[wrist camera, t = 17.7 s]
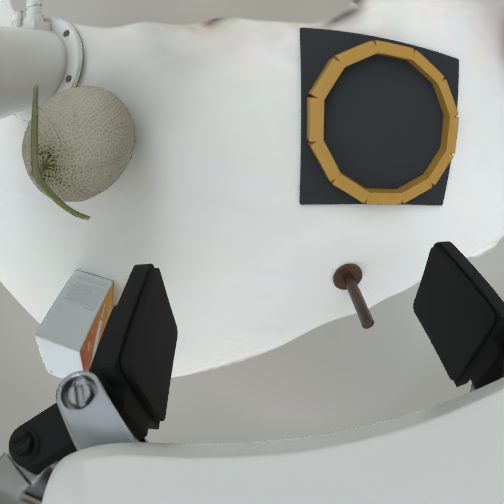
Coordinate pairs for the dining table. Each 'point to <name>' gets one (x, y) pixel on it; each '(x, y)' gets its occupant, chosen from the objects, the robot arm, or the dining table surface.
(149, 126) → the dining table surface
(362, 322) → the post
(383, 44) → the ring
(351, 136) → the mat
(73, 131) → the fruit
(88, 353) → the small box
